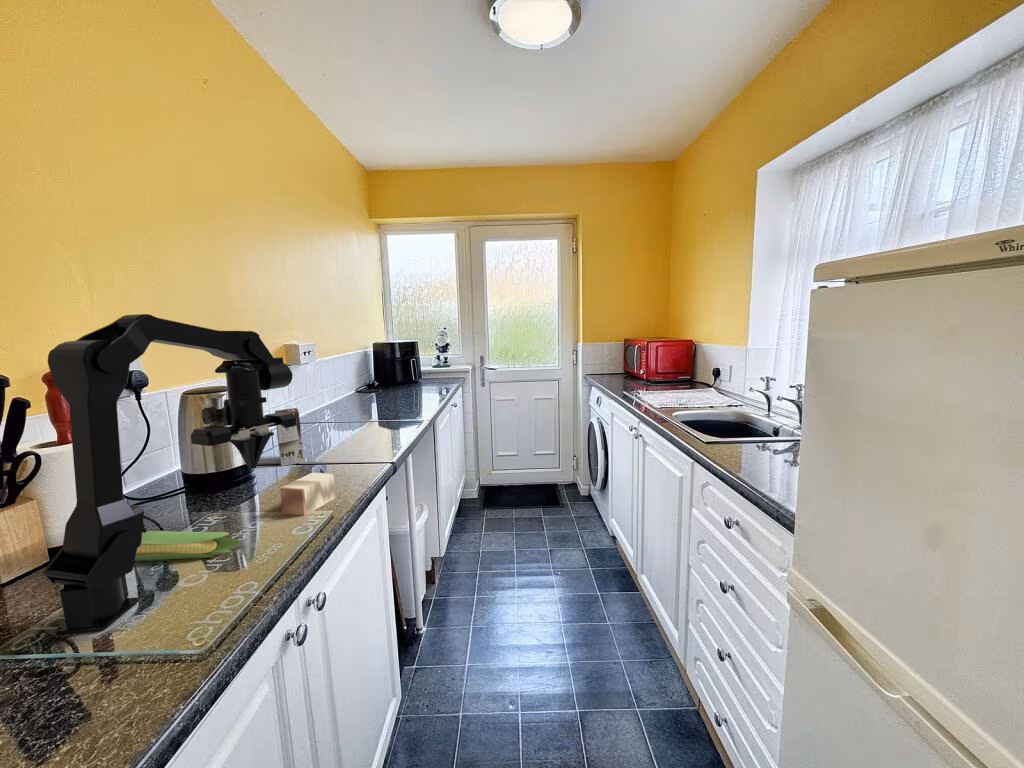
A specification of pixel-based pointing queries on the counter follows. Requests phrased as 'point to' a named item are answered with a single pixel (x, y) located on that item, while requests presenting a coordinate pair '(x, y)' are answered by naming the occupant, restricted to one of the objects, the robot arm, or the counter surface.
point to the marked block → (307, 493)
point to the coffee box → (290, 441)
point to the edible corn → (182, 545)
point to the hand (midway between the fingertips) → (252, 468)
